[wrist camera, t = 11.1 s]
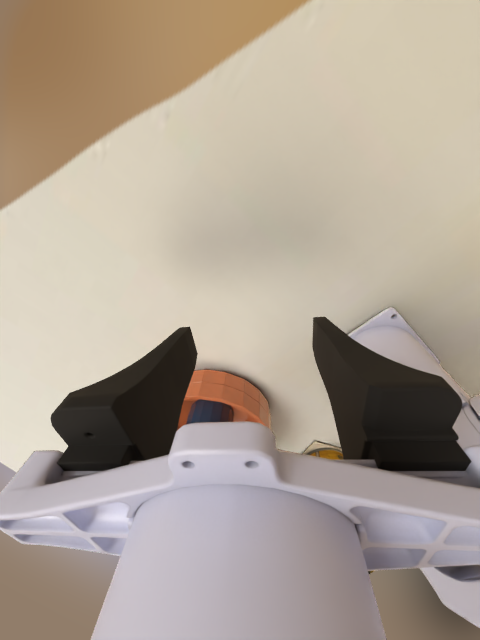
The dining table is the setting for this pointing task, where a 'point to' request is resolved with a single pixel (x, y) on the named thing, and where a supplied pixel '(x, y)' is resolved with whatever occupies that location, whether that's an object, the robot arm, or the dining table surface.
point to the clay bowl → (227, 396)
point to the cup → (210, 412)
